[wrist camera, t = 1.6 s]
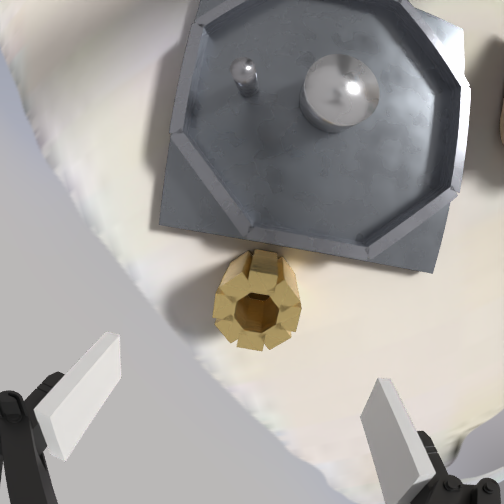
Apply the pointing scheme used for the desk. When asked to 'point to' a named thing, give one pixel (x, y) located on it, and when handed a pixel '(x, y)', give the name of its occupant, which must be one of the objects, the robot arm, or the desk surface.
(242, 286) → the planet gear
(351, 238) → the tray
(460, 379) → the desk surface
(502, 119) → the brown rounded piece
